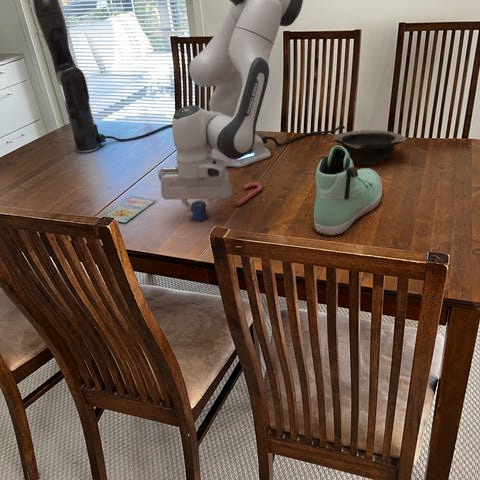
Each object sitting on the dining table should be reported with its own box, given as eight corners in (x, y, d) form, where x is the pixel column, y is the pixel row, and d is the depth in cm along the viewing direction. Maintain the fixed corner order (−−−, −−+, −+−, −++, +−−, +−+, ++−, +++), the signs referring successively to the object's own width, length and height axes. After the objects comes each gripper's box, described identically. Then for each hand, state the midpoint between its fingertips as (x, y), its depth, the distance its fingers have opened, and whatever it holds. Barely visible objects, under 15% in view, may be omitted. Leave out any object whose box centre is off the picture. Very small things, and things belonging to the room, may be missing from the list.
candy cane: (223, 203, 147) (223, 198, 147) (250, 184, 157) (250, 180, 157) (239, 207, 144) (239, 202, 143) (266, 187, 154) (265, 183, 154)
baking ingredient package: (101, 217, 143) (132, 196, 155) (101, 218, 144) (132, 197, 155) (125, 221, 140) (154, 200, 151) (125, 223, 140) (154, 201, 152)
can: (197, 213, 143) (195, 199, 141) (209, 215, 141) (208, 201, 139) (190, 219, 140) (188, 205, 137) (202, 222, 138) (200, 208, 136)
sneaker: (389, 187, 148) (396, 123, 138) (356, 242, 123) (361, 168, 112) (346, 181, 154) (350, 119, 144) (306, 232, 129) (307, 161, 118)
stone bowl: (364, 175, 156) (364, 148, 152) (319, 158, 176) (318, 133, 172) (421, 157, 165) (422, 130, 161) (371, 142, 185) (372, 118, 181)
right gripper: (154, 172, 131) (162, 216, 138) (228, 170, 128) (232, 215, 136) (159, 163, 136) (167, 206, 143) (231, 161, 134) (234, 205, 141)
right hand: (199, 211), depth 139 cm, fingers closed on can, 4 cm apart
